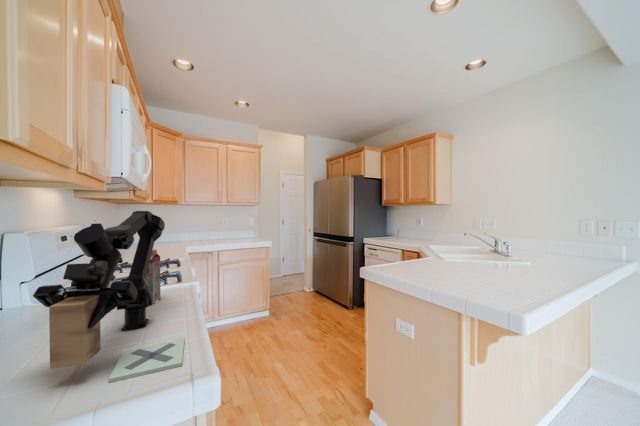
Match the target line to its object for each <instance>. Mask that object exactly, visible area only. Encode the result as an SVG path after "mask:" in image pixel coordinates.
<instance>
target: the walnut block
mask: <svg viewBox="0 0 640 426" xmlns="http://www.w3.org/2000/svg"><path fill="white" fill-rule="evenodd" d="M98 302H99V295H98V296H84V297H70V298H67V299H65V300H63V301H61V302H59V303H56V304H54V305H52V306H50V307H48V308H49V311H48V312H49V315H48V317H49V319H48V320H49V369H50V370H52V369H60V368H68V367H76V366H77V367H78V366H84V365H85V364H87V362H89V361H90V360H91V359H92V358H93V357H95V356H96V355H97V354H98V353H99V352H101V350H102V349H101V320H100V321H99V322H98V323H97V324H96V325H95V326H94V327H93V328H91V329H89V328H88V324H89V321H90V319H91V317H92V314H93V312H94V310H95V308H96V306H97V304H98Z"/></svg>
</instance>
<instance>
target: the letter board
mask: <svg viewBox="0 0 640 426" xmlns="http://www.w3.org/2000/svg"><path fill="white" fill-rule="evenodd" d="M184 350H185V337H183V338H177V339H172V340H166V341H161V342H155V343H151V344H150V343H149V344H144V345H139V346H134V347H129V348H125V349H124V350H123V352H122V353H121V354H120V357H119V360H118V361H117V363H116V365H115V367H114V368H113V371H112V372H111V374H110V376H109V378H108V383H114V382H118V381H122V380H126V379H130V378H131V379H132V378H135V377H140V376H144V375H145V376H146V375H148V374H153V373H154V374H155V373H156V372H158V373H159V372H161V371H165V370H171V369H175V368H180V367H182V366H183V361H184V360H183V359H184V358H183V357H184V352H185V351H184Z"/></svg>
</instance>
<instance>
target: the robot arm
mask: <svg viewBox="0 0 640 426" xmlns="http://www.w3.org/2000/svg"><path fill="white" fill-rule="evenodd" d="M165 226H166V225H165V221H164V220H163V218H162V217H160V216H159V215H156V214H153V212H152V211H148V210H134V211H132V214H131V215H130V216H128V217H127V218H126V219H124V220H123V221H122V222H121V223H120V224H118V225H115V226H110V227H106V228H105V229H104V226H103V225H102V223H91V224H90V226H88V227H85V228H83V229H80V230H78V232H76V233H75V234H74V236H73V241H74V242H75V244H76V245H77V246H78V247H79V248H80V250H81V251H82V252H83V254H84V256H86V257H88V258H91V259H90V260H89V263H88V262H87V263H68V264H66V267H65V271H64V274H63V278H62V279H63V280H68V281H71V282H70V285H71V286H72V287H75V289H66V288H65V287H64V286H63V285H62V284H49V285H48V284H47V285H46V284H45V285H42V286H41V285H40V286H38V288H37V289H36V290H35V291H34V293H33V295H32V297H33V298H34V299H36V300H37V301H38V302H39V303H40V304H41V305H43V306H44V307H46V308H49V307H50V306H52V305H54V304H56V303H59V302H61V301H63V300H65V299H67V298H70V297H84V296H98V295H99V302H98V304H97V306H96V308H95V310H94V312H93V314H92V317H91V319H90V321H89V324H88V328H89V329H91V328H93V327H94V326H95V325H96V324H97V323H98V322H99V321H100V322H101V320H102V319H103V318H104V317H106V315H108V314H109V313H110V312H111V311H113V310H114V309H116V310H117V311H119V310H120V311H121V310H124V324H123V326H122V327H121V328H120V330H121V331H123V332H124V331H127V330H133V329H134V330H135V329H141V328H145V327H147V325H148V322H149V321H150V319H149V318H147V308H148V307H150V306H153V305H152V302H153V296H152V294H151V293H150V291H149V285H148V283H147V281H146V274H147V270H148V266H149V262H150V258H151V254H152V250H154V245H155V242H156V241H157V240H159V238H161V237H162V235H163V231H164V230H165ZM136 234H137V236H138V237H139V239H138V243H137V247H136V250H135V253H134V256H133V260H132V264H131V267H130V271H129V274H128V276H127V277H126V278H121V280H116V281H115V282H113V283H112V284H111V286H110V287H111V288H108V285H109V283H110V281H114V279H115V276H116V275H114V274H115V272H116V269H117V267H118V265H119V264H122V263H123V262H124V261H123V257H122V253H121V252H120V250H121V251H122V250H128V249H130V247H131V246H132V245H133V244H134V242H135V237H134V235H136ZM116 306H117V307H116ZM115 307H116V308H115Z"/></svg>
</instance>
